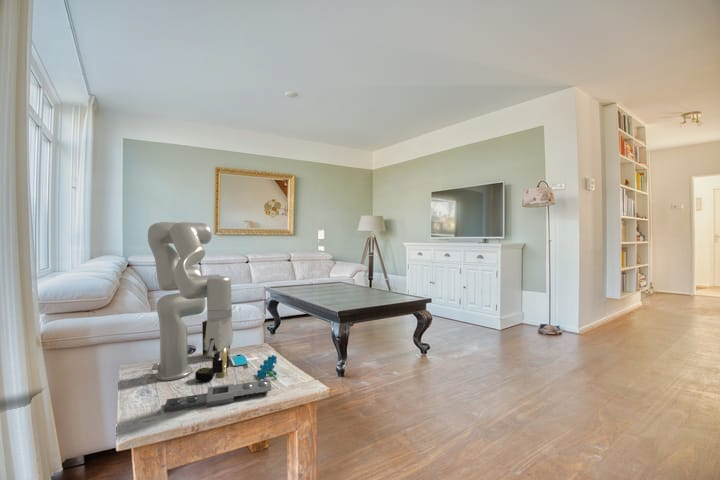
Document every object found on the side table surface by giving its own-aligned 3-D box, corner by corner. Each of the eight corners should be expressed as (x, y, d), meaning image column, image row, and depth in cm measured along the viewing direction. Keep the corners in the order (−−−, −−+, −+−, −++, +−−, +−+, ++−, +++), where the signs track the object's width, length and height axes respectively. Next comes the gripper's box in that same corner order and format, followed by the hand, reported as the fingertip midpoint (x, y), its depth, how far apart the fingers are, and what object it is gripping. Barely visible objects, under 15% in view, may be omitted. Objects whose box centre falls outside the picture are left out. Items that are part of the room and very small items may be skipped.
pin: (213, 378, 112) (212, 347, 113) (219, 374, 116) (218, 344, 116) (224, 378, 112) (223, 347, 112) (229, 374, 116) (228, 344, 116)
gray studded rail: (163, 414, 105) (163, 402, 105) (168, 402, 113) (167, 391, 113) (271, 396, 116) (271, 385, 116) (269, 386, 124) (269, 376, 124)
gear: (254, 369, 136) (272, 349, 138) (264, 377, 139) (282, 358, 140) (257, 383, 126) (277, 362, 128) (268, 392, 129) (288, 371, 130)
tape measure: (212, 382, 128) (212, 372, 128) (192, 384, 127) (192, 373, 127) (217, 375, 135) (216, 366, 135) (198, 376, 134) (198, 367, 134)
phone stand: (263, 366, 145) (263, 362, 145) (233, 372, 139) (233, 368, 139) (253, 353, 163) (253, 349, 163) (226, 357, 157) (226, 353, 157)
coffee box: (201, 357, 155) (201, 321, 155) (211, 353, 162) (210, 318, 162) (219, 359, 153) (219, 322, 153) (228, 354, 160) (228, 319, 160)
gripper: (221, 309, 123) (222, 361, 123) (194, 319, 106) (195, 379, 106) (241, 309, 122) (243, 361, 122) (217, 319, 106) (219, 380, 105)
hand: (221, 369), depth 114 cm, fingers closed on pin, 3 cm apart
